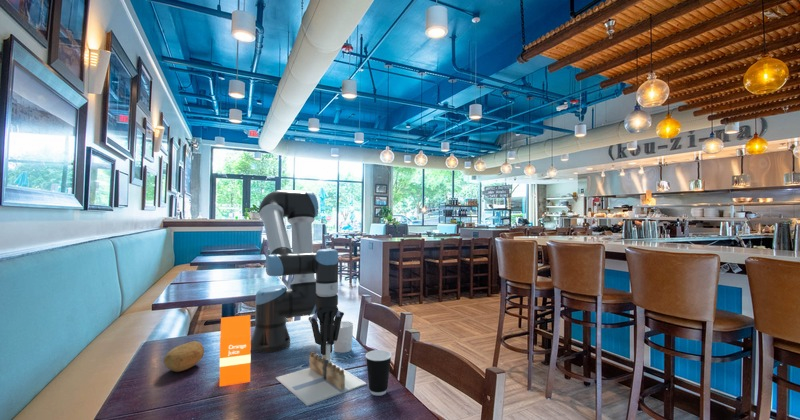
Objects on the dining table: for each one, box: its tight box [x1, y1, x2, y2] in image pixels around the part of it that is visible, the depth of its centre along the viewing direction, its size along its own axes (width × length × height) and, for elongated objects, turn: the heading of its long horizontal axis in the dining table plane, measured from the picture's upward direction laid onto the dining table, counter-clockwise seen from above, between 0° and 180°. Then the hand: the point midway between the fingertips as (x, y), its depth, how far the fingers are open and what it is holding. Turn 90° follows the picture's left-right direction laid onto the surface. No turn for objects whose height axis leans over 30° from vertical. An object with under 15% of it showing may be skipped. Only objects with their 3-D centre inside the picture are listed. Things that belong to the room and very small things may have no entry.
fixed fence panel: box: [324, 360, 345, 390], centre depth 114 cm, size 11×1×6 cm, turn 41°
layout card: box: [275, 361, 367, 407], centre depth 116 cm, size 22×20×1 cm
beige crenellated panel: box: [309, 351, 326, 377], centre depth 122 cm, size 9×1×5 cm, turn 41°
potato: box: [163, 340, 205, 373], centre depth 124 cm, size 10×14×8 cm
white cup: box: [333, 320, 354, 354], centre depth 143 cm, size 8×8×10 cm
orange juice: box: [219, 314, 252, 387], centre depth 117 cm, size 8×9×20 cm
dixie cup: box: [364, 349, 393, 396], centre depth 110 cm, size 8×8×11 cm
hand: (326, 363), depth 126 cm, fingers closed
